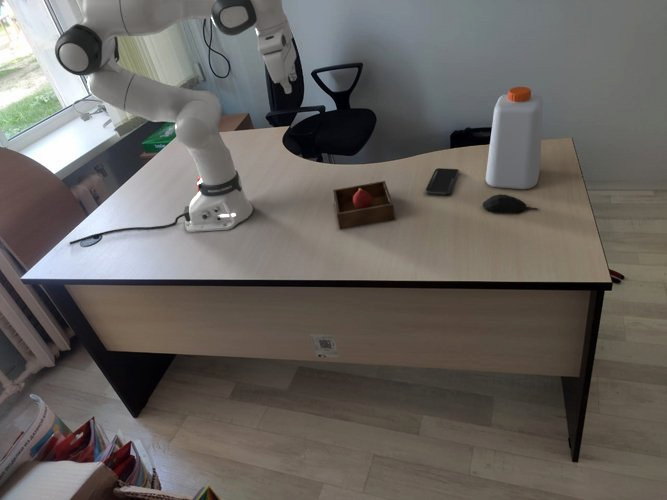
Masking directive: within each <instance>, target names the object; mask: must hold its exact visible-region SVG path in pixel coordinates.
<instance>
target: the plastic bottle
mask: <svg viewBox="0 0 667 500" xmlns="http://www.w3.org/2000/svg"><path fill="white" fill-rule="evenodd" d="M497 99H498V100H497V102H496V104H495V106H494V110H493V115H492V117H493V118H492V123H491V132H490V133H491V134H490V140H489V148H488V156H487V165H486V173H485V182H486V184H488V185H489V186H491V187H492V188H498V189H509V190H510V189H511V190H529V189H532V188H534V187H536V185H537V184H538V181H539V177H540V173H541V158H542V157H541V153H542V133H543V132H542V128H543V127H542V126H543V104H544V102H543V101H544V100H543V97H542V96H541V95H540V94H537V93H532V89H531V88H529V87H527V86H516V87H512V88H510V89H509V90H508V91H507V93H504V94H502V95H500V96H499V98H497Z"/></svg>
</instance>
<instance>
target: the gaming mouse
mask: <svg viewBox="0 0 667 500" xmlns="http://www.w3.org/2000/svg"><path fill="white" fill-rule="evenodd" d="M482 208H483V209H484V210H485V211H486V212H490V213H493V214H520V213H523V212H525V210H536V211H537V210H538V208H537V207H531V206H527V204H526V203H525V202H524V201H523V200H522V199H520V198H517V197H515V196H511V195H508V194H502V193H501V194H500V193H499V194H494V195H492V196H490V197H489V198H487V199H486V200H485V201H483V202H482Z"/></svg>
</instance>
